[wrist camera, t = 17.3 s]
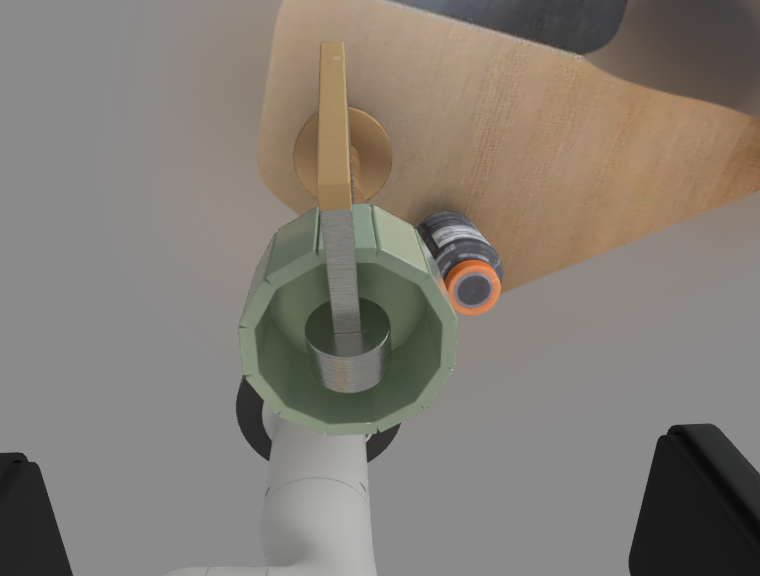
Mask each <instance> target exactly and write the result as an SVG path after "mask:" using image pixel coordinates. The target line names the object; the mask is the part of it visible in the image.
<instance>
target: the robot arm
mask: <svg viewBox="0 0 760 576" xmlns="http://www.w3.org/2000/svg"><path fill="white" fill-rule="evenodd" d="M262 420H263V425H264V428H265V431H266V433H267V434H268V436H269V438H270V439H271V440H272V447H271V453H270V460H269V467H268V474H267V480H266V487H265V494H264V502H263V507H262V515H261V521H260V542H261V548H262V551H263V554H264V557H265V559H266V562H267V564H268V566H269V567H189V568H181V569H177V570H174V571H171V572H169V573H167V574H166V575H164V576H377V572H376V566H375V560H374V552H373V544H372V533H371V518H370V502H369V486H368V473H367V472H368V470H367V454H366V442H367V441H368V440H369V439H370V437H371V435H372V434H360V435H335V436H328V435H327V430H326V432H325V433H324V434H323V435H322V434H319V433H317V432H315V431H312V430H310V429H307V428H305V427H302V426H300V425H297V424H295V423H293V422H290V421H288V420H285V419H283V418H280V417H279V412H278V413H277V414H275V413H274V412H273V411H272V410H271V409H270V408H269V406H268V405H267V404H266V403H265V402H264V403H263V410H262ZM629 570H630V575H631V576H760V474H759V473H758V472H757V471H756V470H755V468H754V467H753V466H752V465H751V464H750V463H749V462H748V460H747V459H746V458H745V457H744V456H743V455H742V454H741V453H740V452H739V450H738V449H737V448H736V447H735V446H734V445H733V444H732V443H731V441H730V440H729V439H728V438H727V437H726V436H725V435H724V434H723V433H722V431H721V430H720V429H719V428H717V427H716V426H715V425H712V424H687V425H674V426H672V427H671V428H670V429H669V430H668V432H667V435H662V436H660V438H659V439H658V442H657V445H656V449H655V453H654V457H653V461H652V465H651V469H650V473H649V477H648V481H647V485H646V489H645V494H644V498H643V502H642V506H641V510H640V514H639V518H638V522H637V526H636V530H635V534H634V539H633V542H632V546H631V551H630V554H629ZM0 576H73V574H72V571H71V568H70V564H69V561H68V558H67V555H66V551H65V548H64V545H63V542H62V538H61V535H60V532H59V529H58V526H57V523H56V519H55V516H54V513H53V510H52V506H51V503H50V500H49V497H48V493H47V490H46V487H45V484H44V480H43V477H42V474H41V471H40V468H39V466H38V465H37V464H36V463H35V462H29V461H28V460H27V457H26V456H25V455H24V454H23V453H17V452H16V453H15V452H14V453H0Z"/></svg>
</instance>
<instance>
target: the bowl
mask: <svg viewBox="0 0 760 576" xmlns="http://www.w3.org/2000/svg"><path fill="white" fill-rule="evenodd" d="M352 209H353V222H354V236H355V249H356V262H357V276H358V289H359V298H364V299H368V300H370V301H373V302H375V303H376V304H378V305H379V306H380V307H382V308H383V309H384V311H385V312H386V313H387V315H388V317H389V319H390V323H391V353H392V362H391V367H390V370H389V371H388V373H387V375H386V376H385V378H384V379H383V380H382V381H381V382H379V383H378V384H377V385H375V386H374V387H372V388H370V389H367V390H364V391H361V392H355V393H341V392H336V391H333V390H330V389H328V388H326V387H324V386H323V385H321V384H320V383H319V382H318V381H317V380H316V379H315V377H314V376H313V374H312V372H311V368H310V363H309V357H308V351H307V345H306V339H305V331H304V329H305V324H306V321H307V319H308V317H309V316H310V314H311V313H312V312H313V311H314V310H315V309H316V308H317V307H319V306H320V305H322V304H323V303H325V302H327V301H330V295H329V287H328V279H327V270H326V262H325V254H324V245H323V237H322V229H321V220H320V212H319V207H318V206H317V207H315V208H313V209H312V210H310V211H308V212H307V213H305V214H303V215H301V216H300V217H298V218H296V219H295V220H293V221H291V222H290V223H288V224H286V225H284V226H283V227H281V228H279V229H278V233H277V232H276V233H275V234H274V236H273V238H272V239H271V241H270V243H269V245H268V247H267V249H266V251H265V253H264V254H263V256H262V258H261V260H260V262H259V264H258V266H257V268H256V270H255V273H254V277H253V280H252V283H251V287H250V290H249V293H248V296H247V300H246V303H245V306H244V309H243V313H242V316H241V319H240V323H239V328H238V333H239V341H240V351H241V359H242V368H243V374H244V375H246V380H247V381H248V382H249V383H250V385H251V386H252V387H253V388H254V390H255V391H256V392H257V393H258V394H259V396H260V397H261V398H262V399H263V400H264V402H265V403H266V404H267V405H268V406H269V408H270V409H271V410H272V411H273V412H274V413H275V414H277V413H278V412H279V417H280V418H283V419H285V420H288V421H290V422H293V423H295V424H297V425H300V426H302V427H305V428H307V429H310V430H312V431H315V432H317V433H319V434H322V435H323V434H324V433H325V432H326V430H327V435H328V436H335V435H360V434H376V433H377V429H378V430H379V431H380V432H383V431H385V430H387V429H389V428H391V427H393V426H395V425H397V424H399V423H401V422H403V421H405V420H407V419H409V418H411V417H413V416H415V415H417V414H419V413H421V412H423V407H424V408H428V406H429V405H430V404H431V402H432V401H433V400H434V398H435V397H436V395H437V394H438V392H439V391H440V390H441V388H442V387H443V386H444V384H445V383H446V381H447V380H448V379H449V377H450V376H451V374H452V373H453V372H454V369H453V367H455V365H456V350H457V334H458V320H457V316H456V313H455V310H454V308H453V305H452V302H451V300H450V297H449V294H448V292H447V289H446V286H445V284H444V281H443V279H442V276H441V273H440V271H439V268H438V265H437V263H436V262H435V260H434V258H433V256H432V255H431V253H430V251H429V250H428V248H427V246H426V245H425V243H424V241H423V239H422V238H421V236H420V234H419V233H418V231H417V229H414V228H413V226H412V225H410V224H408V223H406V222H405V221H403V220H401V219H399V218H397V217H395V216H394V215H391V214H390V213H388V212H386V211H384V210H382V209H380V208H378V207H377V206H375V205H373V206H372V207H370V205H369V204H352Z"/></svg>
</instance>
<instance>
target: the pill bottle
mask: <svg viewBox="0 0 760 576" xmlns="http://www.w3.org/2000/svg"><path fill="white" fill-rule="evenodd" d="M417 231H418V233H419V234H420V236H421V238H422V239H423V241H424V243H425V245H426V246H427V248H428V250H429V251H430V253H431V255H432V256H433V258H434V260H435V262H436V263H437V265H438V268H439V271H440V273H441V276H442V279H443V281H444V284H445V286H446V289H447V292H448V294H449V297H450V300H451V302H452V305H453V308H454V310H455V311H457V312H459V313H461V314H464V315H468V316H473V315H479V314H482V313H484V312H486V311H488V310H489V309H490V308H492V307H493V306H494V305H495V304H496V302H497V300H498V298H499V296H500V291H501V283H502V278H503V267H502V262H501V260H500V258H499V256H498V254H497V253H496V251H495V250H494V249H493V248H492V247H491V245H490V244H489V243H488V242H487V240H486V239H485V238H484V237H483V236H482V235H481V233H480V232H479V231H478V230H477V229H476V227H475V226H474V225H473V223H472V222H471V221H470V220H469V219H468V218H467V217H465V216H464V215H462V214H459V213H457V212H452V211H442V212H437V213H435V214H432V215H430V216H429V217H427V218H425V219H424V220H423V221H422V222H421V223H420V224H419V226H418V227H417Z"/></svg>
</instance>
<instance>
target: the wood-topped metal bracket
mask: <svg viewBox="0 0 760 576" xmlns="http://www.w3.org/2000/svg"><path fill="white" fill-rule="evenodd" d="M316 189H317V197H318V206H319V212H320V220H321V229H322V237H323V245H324V254H325V262H326V270H327V279H328V287H329V295H330V301H327V302H325V303H323V304H322V305H320V306H319V307H317V308H316V309H315V310H314V311H313V312H312V313H311V314H310V316H309V317H308V319H307V321H306V324H305V329H304V331H305V339H306V345H307V351H308V357H309V363H310V368H311V372H312V374H313V376H314V377H315V379H316V380H317V381H318V382H319V383H320V384H321V385H323V386H324V387H326V388H328V389H330V390H333V391H336V392H341V393H355V392H361V391H364V390H367V389H370V388H372V387H374V386H375V385H377V384H378V383H379V382H381V381H382V380H383V379H384V378H385V376H386V375H387V373H388V371H389V370H390V367H391V362H392V353H391V323H390V319H389V317H388V315H387V313H386V312H385V311H384V309H383V308H382V307H380V306H379V305H378V304H376V303H375V302H373V301H370V300H368V299H364V298H359V289H358V276H357V262H356V249H355V236H354V222H353V209H352V204H355V194H354V180H353V166H352V151H351V137H350V123H349V109H348V95H347V81H346V66H345V52H344V43H343V42H326V43H321V44H320V72H319V104H318V137H317V169H316Z"/></svg>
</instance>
